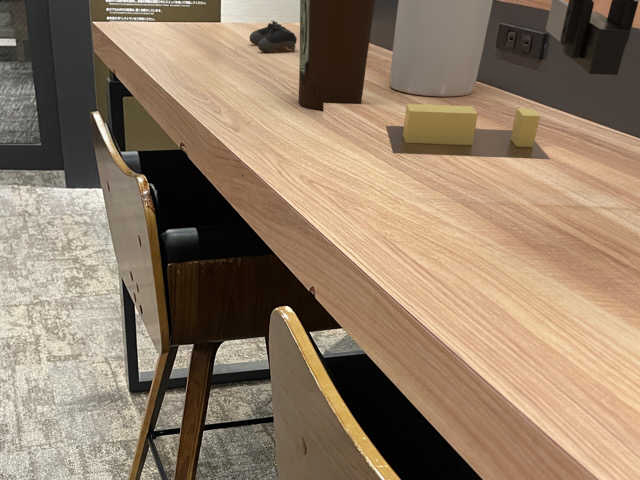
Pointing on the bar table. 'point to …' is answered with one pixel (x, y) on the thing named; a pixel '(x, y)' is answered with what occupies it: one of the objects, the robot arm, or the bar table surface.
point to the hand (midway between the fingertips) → (590, 54)
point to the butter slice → (525, 127)
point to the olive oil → (333, 51)
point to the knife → (593, 40)
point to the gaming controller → (273, 38)
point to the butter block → (439, 124)
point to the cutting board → (483, 145)
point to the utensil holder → (438, 46)
